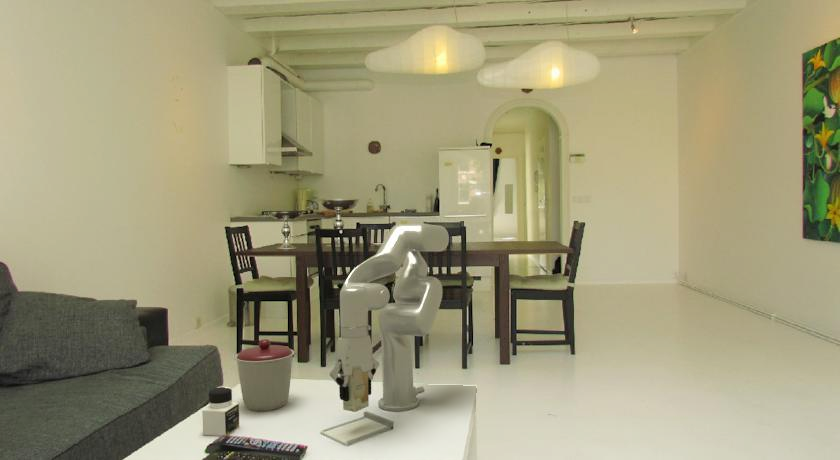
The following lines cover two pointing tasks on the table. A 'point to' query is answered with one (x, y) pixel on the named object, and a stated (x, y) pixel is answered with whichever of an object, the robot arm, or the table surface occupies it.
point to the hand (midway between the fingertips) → (355, 396)
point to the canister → (265, 375)
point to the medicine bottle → (220, 413)
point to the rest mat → (358, 429)
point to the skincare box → (357, 391)
